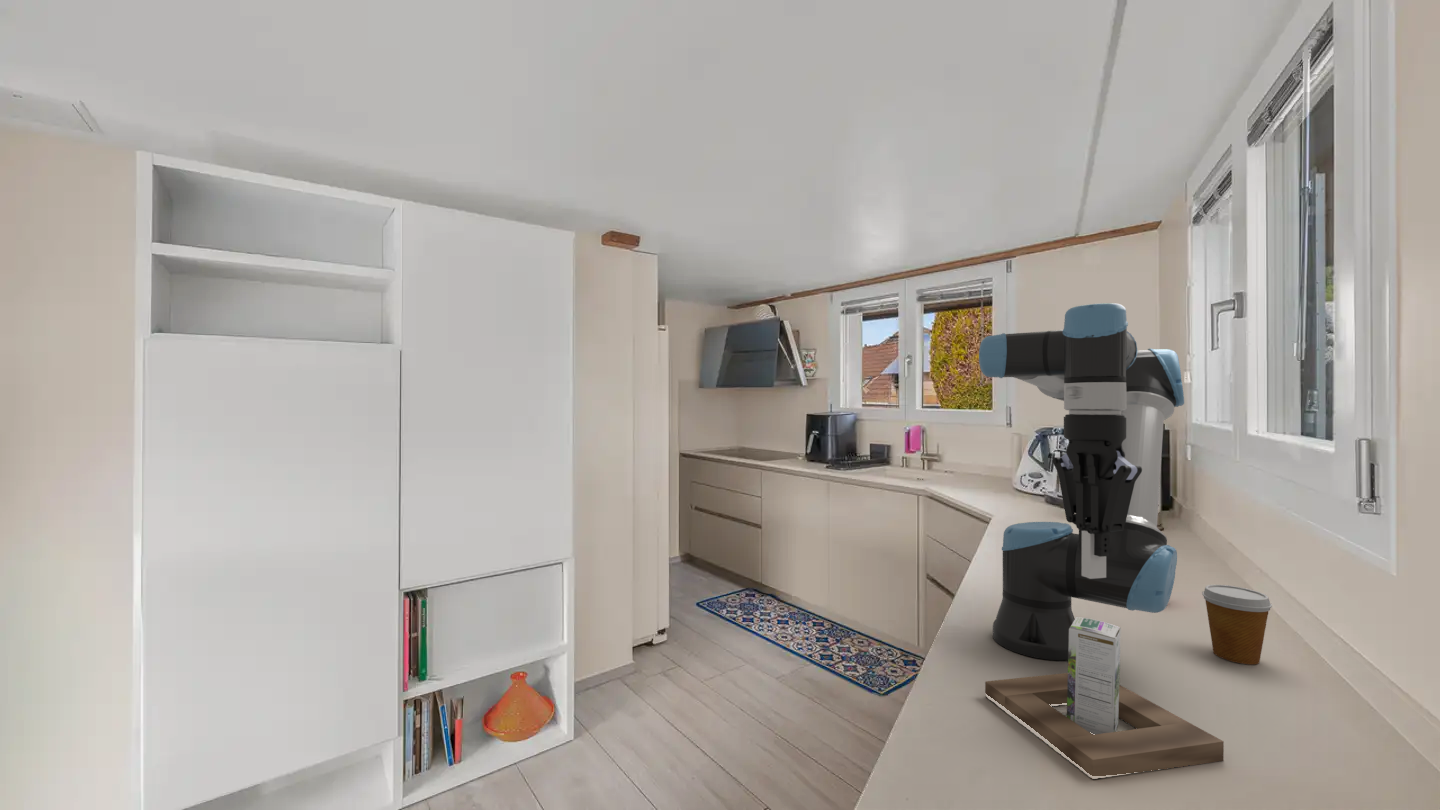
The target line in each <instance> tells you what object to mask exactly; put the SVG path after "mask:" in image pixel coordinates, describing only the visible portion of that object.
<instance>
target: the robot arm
mask: <svg viewBox="0 0 1440 810" xmlns="http://www.w3.org/2000/svg"><path fill="white" fill-rule="evenodd" d="M1063 323H1064V325H1063V328H1062V329H1057V330H1056V329H1055V330H1048V331H1044V330H1043V331H1033V332H1032V331H1031V332H1016V333H1015V332H1014V333H1004V332H1002V333H1000V334H995V335H994V334H993V335H988V336H985V337H984V338H983V339H982V340H981V342H980V345H979V350H978V362H979V368H980V370H981V372H982V375H984V376H985V377H987V378H999V379H1003V378H1014V379H1018V380H1020V381H1021V382H1026V383H1028V384H1030V385H1033V386H1035V387H1036V388H1037V389H1038V390H1039V392H1041V393H1042V394H1044V395H1045V396H1047V397H1050V398H1053V399H1056V400H1058V401H1059V400H1060V401H1063V409H1064V411H1068V414H1064V415H1065V416H1063V438H1065V439H1066V440H1068V444H1067V446H1066V449H1065V454H1062V456H1058V457H1053V459H1052V463H1053V464H1052V465H1054V468H1055V470H1056V472H1057V475H1058V481H1059V488H1060V491H1061V497H1062V501H1063V502H1062V503H1063V507H1064V508H1063V509H1064V514H1065V519H1066V521H1067V522H1068V523H1070V524H1068V523H1063V522H1060V521H1059V522H1058V521H1029V522H1028V521H1027V522H1018V523H1015V524H1011V525H1009V526H1007V527H1006V528H1005V529H1004V531H1003V536H1002V537H1003V538H1002V546H1001V551H1002V599H1001V602H1000V605H999V608H998V611H997V614H996V617H995V620H994V621H993V623H992V639H993V640H994V641H995V642H996V643H997V644H998V645H1000V646H1001V647H1003V648H1005V649H1007V650H1009V651H1012V652H1014V653H1016V654H1020V655H1023V656H1027V657H1030V658H1035V659H1042V660H1049V661H1068V648H1069V628H1070V627H1071V625H1072V623H1073V622H1074V620H1075V618H1076V617H1075V615H1074V613H1073V611H1072V599H1073V598H1074V599H1075V598H1076V599H1078V600H1084V601H1089V602H1093V603H1094V602H1095V603H1099V604H1103V605H1108V606H1113V607H1117V608H1123V609H1127V610H1128V611H1139V612H1145V613H1151V614H1153V613H1154V614H1157V613H1161V612H1163V611H1164V610H1165V609H1166V608H1167V607H1168V604H1169V601H1170V599H1171V595H1172V591H1173V588H1174V583H1175V579H1176V569H1177V562H1178V553H1177V549H1176V548H1175V547H1174V546H1171V545H1170V544H1168V538H1167V536H1166V535H1165V533H1163V532H1162V530H1160V529H1159V528H1158V517H1159V515H1158V514H1159V503H1160V502H1159V501H1160V484H1161V483H1160V482H1161V472H1162V471H1161V467H1162V454H1163V453H1162V451H1163V436H1164V421H1166V420H1168V419H1169V418H1171V417H1172V415H1173V414H1174V413H1175V408H1179V407H1182V406H1183V405H1185V396H1184V388H1183V380H1182V372H1181V366H1180V360H1179V356H1178V354H1177V352H1176V351H1174V350H1173V349H1169V348H1165V349H1164V348H1160V349H1159V348H1158V349H1157V348H1156V349H1154V348H1150V347H1149V348H1147V349H1144V350H1143V349H1140V350H1139V349H1138V343H1137V342H1136V340H1135V337H1134V336H1133V335H1132V333H1130V332H1129V331H1127V329H1128V325H1129V322H1128V321H1127V309H1126V307H1125V306H1124V305H1122V304H1121V303H1116V302H1115V303H1112V302H1106V303H1102V302H1101V303H1092V304H1091V303H1088V304H1082V305H1076V306H1074V307H1070V308H1068V309H1067V310H1066V312H1065V314H1064V322H1063ZM1071 523H1072V524H1073V525H1075V526H1076V528H1077V529H1078V533H1074V529H1073V528H1072V526H1071Z"/></svg>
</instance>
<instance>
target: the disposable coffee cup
mask: <svg viewBox="0 0 1440 810" xmlns="http://www.w3.org/2000/svg"><path fill="white" fill-rule="evenodd" d="M1201 595H1202V597H1203V599H1204V600H1205V606H1206V612H1207V613H1206V614H1207V619H1208V625H1209V633H1210V639H1211V646H1212V647H1211V648H1212V652H1213V654H1214V655H1215V656H1217V657H1219V658H1220V659H1224V660H1225V661H1229V662H1233V663H1238V664H1242V665H1249V666H1250V665H1251V666H1252V665H1258V664H1260V661H1261V656H1262V650H1263V645H1264V640H1265V639H1264V637H1265V633H1266V628H1267V622H1268V621H1267V620H1268V616H1269V611H1271V608H1273V604H1272V603H1271V602H1270V601H1271V600H1270V598H1269V596H1268V594H1265V593H1263V592H1261V591H1257V590H1253V589H1250V588H1246V587H1241V586H1235V585H1226V584H1207V585H1205V587H1204V591H1202V592H1201Z"/></svg>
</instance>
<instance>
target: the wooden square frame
mask: <svg viewBox="0 0 1440 810" xmlns="http://www.w3.org/2000/svg"><path fill="white" fill-rule="evenodd" d="M984 684H985V685H984V686H985V687H984V688H985V689H984V691H985V693H986V694H987V695H988V696H990V697H991V698H993V699H994V700H995V701H997V702H998V703H999V704H1001V705H1002V706H1004V707H1005V708H1006V709H1007V710H1009V711H1010V712H1011V713H1012V714H1014V715H1015V716H1017V717H1018V718H1019V719H1021V720H1022V721H1023V722H1025V723H1026V724H1027V725H1029V726H1030V727H1031V728H1033V729H1034V730H1035V731H1036V732H1038V733H1039V734H1040V735H1041V736H1043V737H1044V738H1045V739H1047V740H1048V741H1049V742H1050V743H1051V744H1053V745H1054V746H1055V747H1057V748H1058V749H1059V750H1060V751H1061V752H1063V753H1064V754H1065V755H1066V756H1067V757H1069V758H1070V759H1071V760H1072V761H1074V762H1075V763H1076V764H1078V765H1079V766H1080V767H1082V768H1083V769H1084V770H1085V771H1086V772H1087V773H1089V774H1090V775H1092V776H1106V775H1117V774H1126V773H1134V772H1143V771H1151V770H1152V771H1151V772H1154V771H1153V770H1158V769H1164V770H1168V769H1167V768H1171V769H1175V768H1174V767H1178V768H1184V767H1190V766H1197V765H1202V764H1209V763H1217V762H1224V759H1225V758H1224V751H1225V750H1224V749H1225V748H1224V747H1225V746H1224V745H1225V744H1224V743H1225V742H1224V740H1222V739H1220V738H1219V737H1216V736H1214V735H1212V734H1211V733H1209V732H1207V731H1206V730H1204V729H1202V728H1199V726H1196V725H1194V724H1193V723H1190V722H1189V721H1187V720H1185V719H1183V718H1181V717H1180V716H1177V715H1176V714H1174V713H1172V712H1171V711H1169V710H1166V709H1165V708H1163V707H1161V706H1159V705H1158V704H1155V703H1154V702H1152V701H1151V700H1148V699H1147V698H1145V697H1143V696H1141V695H1140V694H1138V693H1135V692H1134V691H1132V690H1130V689H1129V688H1127V687H1124V686H1123V685H1121V684H1119V718H1120V720H1121V719H1122V720H1121V721H1123V720H1124V721H1125V723H1126V722H1127V723H1126V724H1128V723H1129V724H1131V725H1132V726H1131V725H1130V726H1131V727H1133V726H1134V727H1135V728H1134V727H1133V729H1126V730H1120V731H1118V730H1117V731H1116V732H1110V733H1102V734H1095V735H1093V734H1091V733H1090V732H1088V731H1087V730H1085V729H1084V728H1082V727H1081V726H1079V725H1078V724H1076V723H1075V722H1073V721H1072V720H1070V719H1069V718H1068V717H1067V715H1065V714H1063V713H1061V712H1060V711H1059V710H1057V709H1056V708H1055V707H1051V706H1050V705H1051V704H1062V703H1067V685H1068V672H1064V673H1054V674H1052V673H1051V674H1045V675H1036V676H1035V675H1034V676H1033V675H1032V676H1025V677H1016V678H1006V679H997V680H985V682H984ZM985 693H984V694H985ZM1049 704H1050V705H1049ZM1119 718H1118V719H1119ZM1124 721H1123V722H1124ZM1129 724H1128V725H1129ZM1136 728H1137V729H1136ZM1188 765H1190V766H1188ZM1183 766H1184V767H1183ZM1158 771H1159V770H1158Z"/></svg>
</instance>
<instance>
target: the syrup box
mask: <svg viewBox="0 0 1440 810" xmlns="http://www.w3.org/2000/svg"><path fill="white" fill-rule="evenodd" d="M1074 618H1075V620H1074V622H1073V623H1072V625H1071V627H1070V628H1069V648H1068V660H1067V663H1068V664H1067V673H1068V685H1067V705H1066V717H1068V718H1069V719H1070V720H1072V721H1073V722H1075V723H1076V724H1078V725H1079V726H1081V727H1082V728H1084V729H1085V730H1087V731H1088V732H1091V733H1093V734H1102V733H1110V732H1117V731H1118V727H1119V685H1120V679H1121V678H1120V671H1121V670H1120V669H1121V668H1120V667H1121V665H1120V664H1121V627H1120V626H1118V625H1116V624H1112V623H1109V622H1107V621H1103V620H1102V621H1101V620H1098V619H1094V618H1088V617H1079V616H1076V617H1074Z"/></svg>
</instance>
